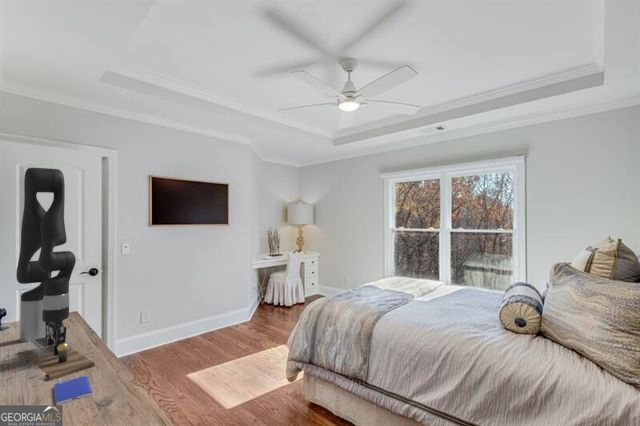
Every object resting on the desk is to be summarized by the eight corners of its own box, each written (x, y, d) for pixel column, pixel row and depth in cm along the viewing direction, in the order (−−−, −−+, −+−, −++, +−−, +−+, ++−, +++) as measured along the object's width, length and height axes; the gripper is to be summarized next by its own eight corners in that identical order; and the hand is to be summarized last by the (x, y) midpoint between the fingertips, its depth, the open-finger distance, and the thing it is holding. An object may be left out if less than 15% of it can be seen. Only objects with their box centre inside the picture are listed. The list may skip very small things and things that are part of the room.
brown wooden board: (21, 355, 118) (22, 351, 118) (61, 344, 128) (61, 341, 128) (50, 380, 100) (50, 376, 100) (94, 366, 110) (94, 362, 110)
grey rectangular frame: (27, 350, 119) (28, 340, 119) (57, 343, 126) (58, 333, 127) (39, 360, 111) (39, 348, 111) (70, 351, 118) (70, 341, 118)
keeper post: (55, 361, 110) (55, 343, 110) (66, 358, 113) (67, 340, 113) (58, 364, 108) (59, 345, 108) (70, 360, 111) (70, 342, 111)
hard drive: (54, 383, 96) (56, 401, 87) (87, 375, 101) (92, 391, 92) (54, 388, 96) (55, 407, 87) (87, 380, 101) (92, 396, 92)
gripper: (36, 305, 117) (35, 351, 116) (49, 312, 108) (48, 361, 108) (62, 301, 123) (60, 344, 122) (76, 307, 114) (74, 354, 114)
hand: (54, 352), depth 115 cm, fingers open, 6 cm apart
